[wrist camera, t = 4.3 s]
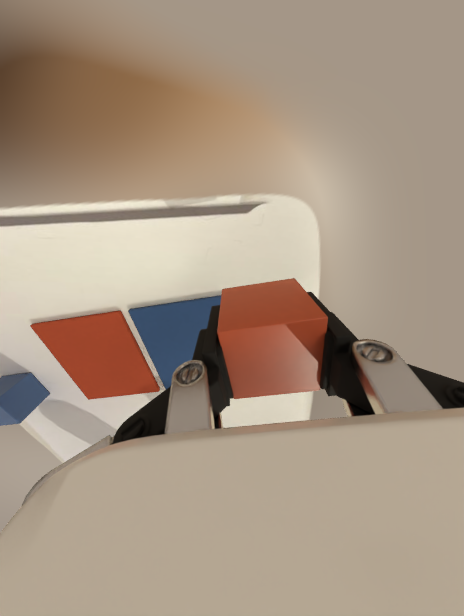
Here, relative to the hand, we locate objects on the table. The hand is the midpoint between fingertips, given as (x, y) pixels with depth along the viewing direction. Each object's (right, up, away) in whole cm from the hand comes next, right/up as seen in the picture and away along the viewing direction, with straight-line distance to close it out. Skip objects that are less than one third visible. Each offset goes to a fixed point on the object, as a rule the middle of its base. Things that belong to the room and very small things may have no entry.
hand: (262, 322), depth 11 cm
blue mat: (-6, -4, +11) cm, 13 cm away
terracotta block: (0, 0, 0) cm, 1 cm away
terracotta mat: (-17, -5, +11) cm, 21 cm away
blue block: (-29, -9, +14) cm, 33 cm away
